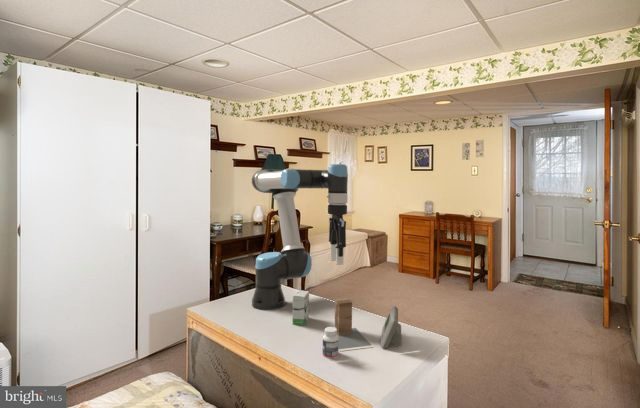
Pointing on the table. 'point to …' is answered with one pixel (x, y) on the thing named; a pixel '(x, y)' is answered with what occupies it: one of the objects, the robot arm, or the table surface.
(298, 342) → the table surface
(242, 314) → the table surface
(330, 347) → the pill bottle
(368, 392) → the table surface
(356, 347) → the mat
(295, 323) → the ink box
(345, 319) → the block
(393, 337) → the digital clock
